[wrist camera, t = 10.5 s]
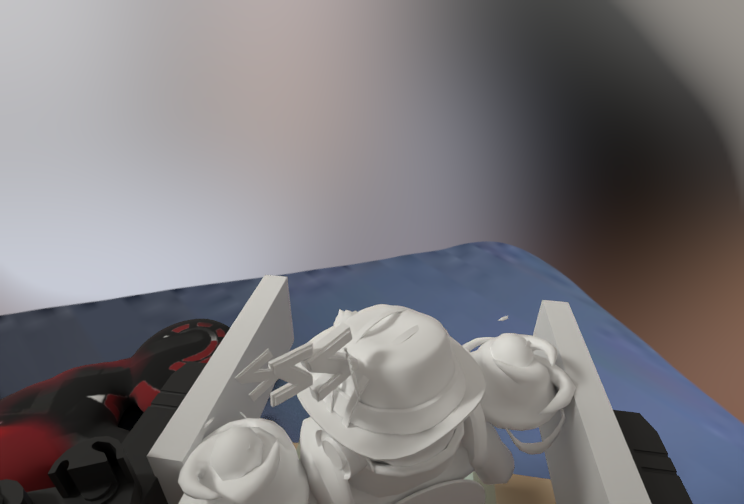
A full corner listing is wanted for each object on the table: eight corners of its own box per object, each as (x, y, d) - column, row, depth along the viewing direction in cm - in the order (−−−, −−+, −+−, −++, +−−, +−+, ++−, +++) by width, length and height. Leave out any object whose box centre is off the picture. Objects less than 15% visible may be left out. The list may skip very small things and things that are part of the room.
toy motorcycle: (-133, 426, 29) (-474, 753, 15) (-169, 362, 27) (-601, 668, 13) (248, 357, 36) (264, 533, 22) (241, 302, 34) (253, 457, 20)
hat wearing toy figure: (252, 769, 10) (84, 467, 4) (229, 593, 13) (112, 274, 7) (539, 589, 14) (673, 270, 8) (467, 480, 17) (521, 193, 11)
